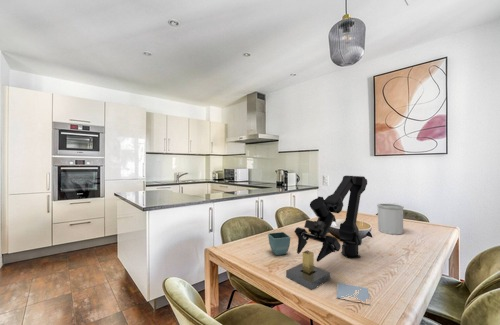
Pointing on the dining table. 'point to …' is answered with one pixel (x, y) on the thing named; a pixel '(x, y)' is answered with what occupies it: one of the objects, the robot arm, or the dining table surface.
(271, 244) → the flower pot
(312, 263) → the brass peg
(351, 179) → the robot arm
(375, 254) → the dining table surface
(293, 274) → the socket plate
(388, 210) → the utensil holder
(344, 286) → the rubber mat
